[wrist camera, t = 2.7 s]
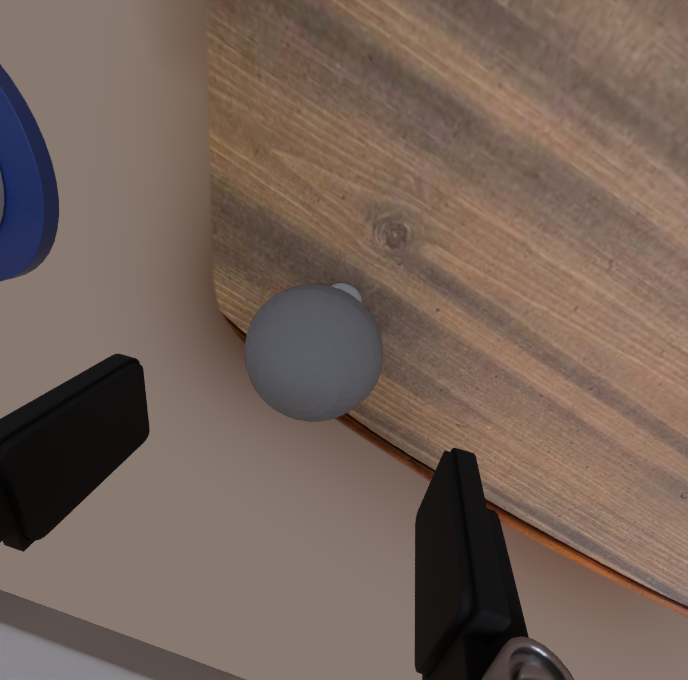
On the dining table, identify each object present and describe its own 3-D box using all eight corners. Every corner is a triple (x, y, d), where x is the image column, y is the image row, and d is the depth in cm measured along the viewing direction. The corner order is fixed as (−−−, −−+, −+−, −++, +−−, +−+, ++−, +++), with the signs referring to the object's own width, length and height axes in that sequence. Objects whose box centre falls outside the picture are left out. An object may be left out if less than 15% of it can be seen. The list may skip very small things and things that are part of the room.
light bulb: (325, 232, 19) (255, 277, 11) (410, 289, 20) (411, 377, 11) (281, 312, 22) (195, 401, 13) (357, 360, 23) (323, 476, 14)
